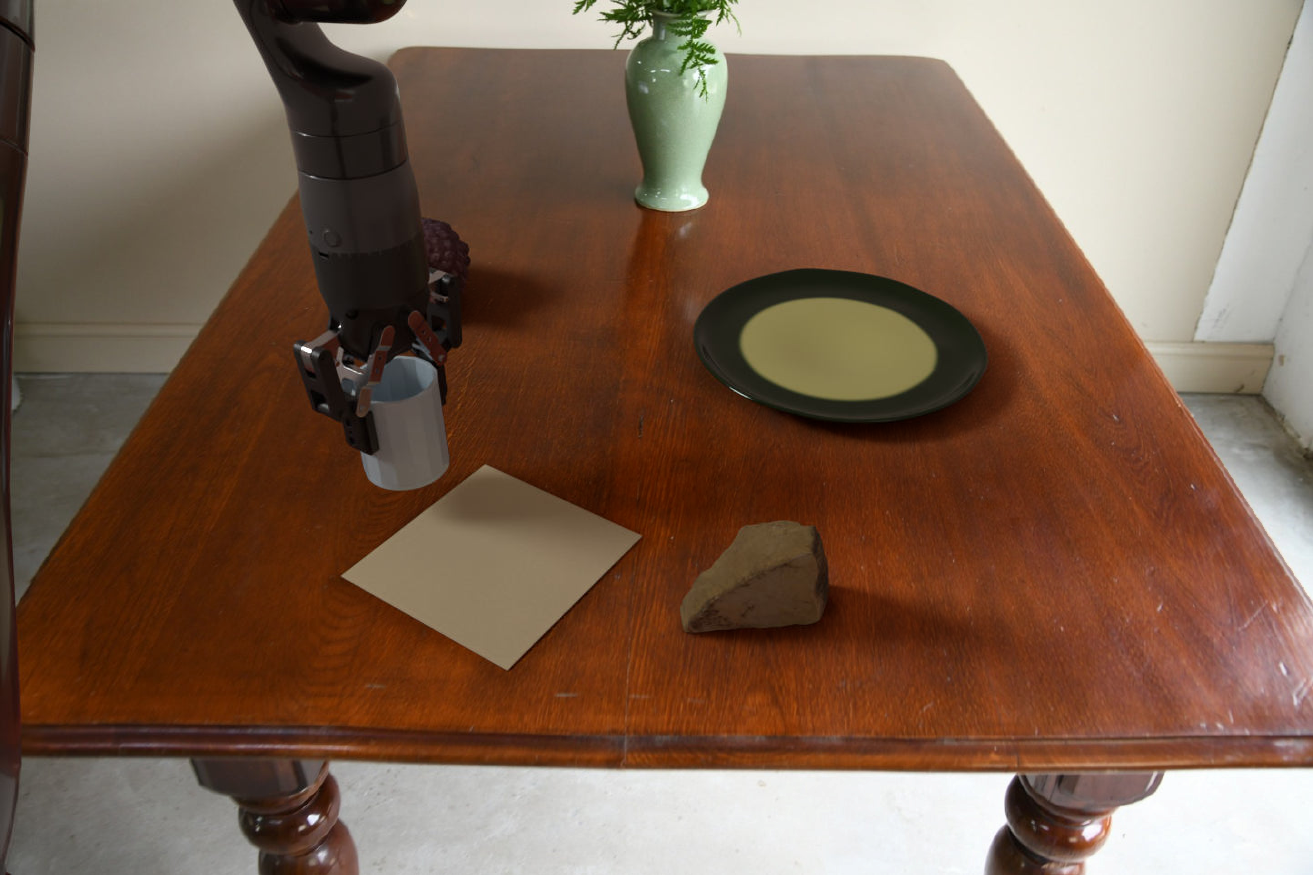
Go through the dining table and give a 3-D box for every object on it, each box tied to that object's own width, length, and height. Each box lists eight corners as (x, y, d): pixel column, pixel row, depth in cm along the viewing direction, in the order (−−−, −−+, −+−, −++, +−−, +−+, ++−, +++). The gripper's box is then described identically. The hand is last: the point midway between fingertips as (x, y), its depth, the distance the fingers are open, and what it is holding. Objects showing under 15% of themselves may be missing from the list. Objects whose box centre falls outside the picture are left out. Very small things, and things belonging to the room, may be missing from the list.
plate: (660, 305, 108) (660, 284, 107) (903, 274, 114) (907, 254, 112) (744, 464, 86) (746, 441, 85) (1039, 417, 92) (1046, 394, 91)
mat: (507, 670, 69) (507, 669, 69) (341, 576, 76) (340, 575, 76) (642, 536, 79) (642, 535, 79) (485, 465, 86) (485, 464, 86)
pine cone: (354, 274, 113) (387, 189, 111) (439, 306, 117) (472, 225, 115) (360, 310, 97) (398, 212, 96) (458, 346, 101) (496, 253, 99)
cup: (408, 501, 77) (392, 414, 72) (347, 471, 80) (328, 385, 75) (466, 457, 81) (455, 372, 76) (407, 430, 84) (392, 347, 79)
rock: (655, 638, 68) (805, 660, 65) (666, 509, 68) (816, 524, 65) (701, 617, 78) (832, 635, 75) (710, 505, 78) (841, 518, 75)
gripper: (401, 177, 75) (430, 369, 85) (239, 250, 65) (293, 458, 75) (479, 200, 71) (500, 397, 81) (320, 281, 62) (366, 494, 72)
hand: (400, 426), depth 78 cm, fingers closed on cup, 6 cm apart
